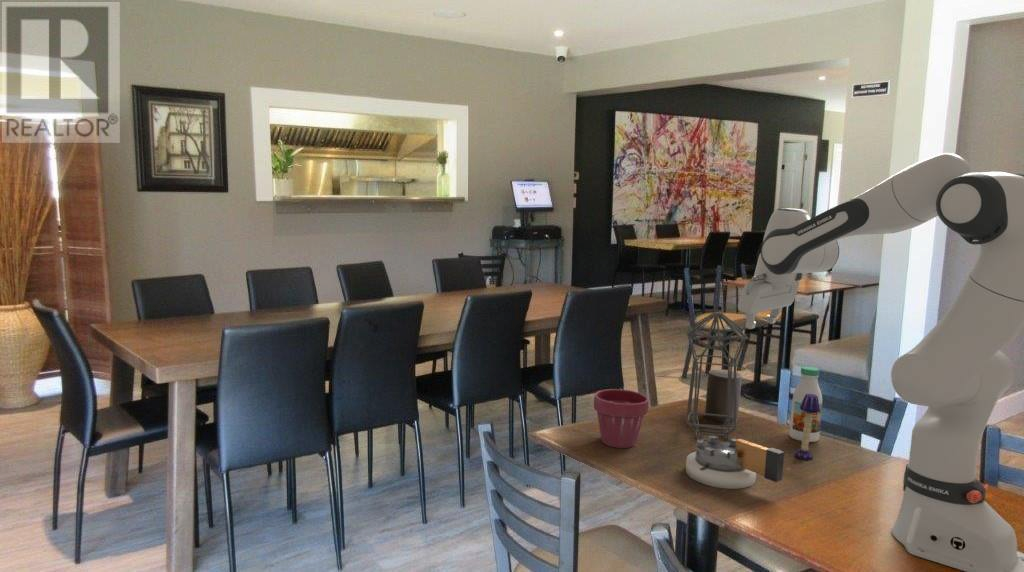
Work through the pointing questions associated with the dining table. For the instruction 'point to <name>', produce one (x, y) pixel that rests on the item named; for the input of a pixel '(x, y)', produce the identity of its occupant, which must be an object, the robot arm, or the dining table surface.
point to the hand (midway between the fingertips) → (760, 325)
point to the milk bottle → (804, 387)
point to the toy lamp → (807, 424)
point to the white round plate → (718, 475)
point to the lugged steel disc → (740, 457)
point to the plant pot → (620, 416)
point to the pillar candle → (721, 394)
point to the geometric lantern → (742, 336)
